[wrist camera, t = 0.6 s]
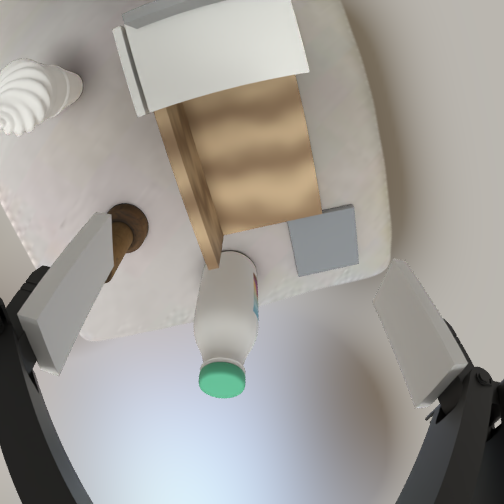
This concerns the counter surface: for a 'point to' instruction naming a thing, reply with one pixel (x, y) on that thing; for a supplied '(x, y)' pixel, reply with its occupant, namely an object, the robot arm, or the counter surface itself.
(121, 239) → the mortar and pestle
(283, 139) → the brown piece
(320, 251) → the coaster
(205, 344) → the milk bottle
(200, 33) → the lid
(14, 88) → the soft serve ice cream cone
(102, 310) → the counter surface
